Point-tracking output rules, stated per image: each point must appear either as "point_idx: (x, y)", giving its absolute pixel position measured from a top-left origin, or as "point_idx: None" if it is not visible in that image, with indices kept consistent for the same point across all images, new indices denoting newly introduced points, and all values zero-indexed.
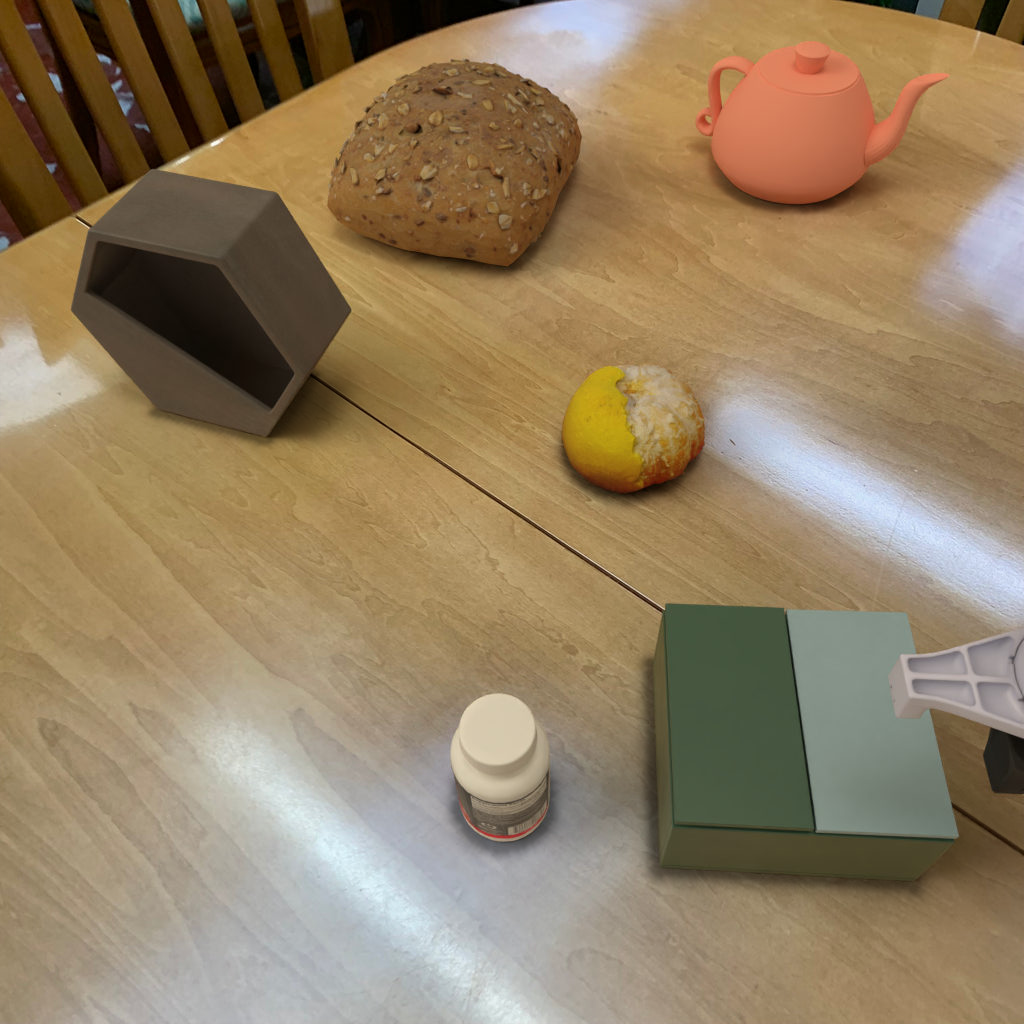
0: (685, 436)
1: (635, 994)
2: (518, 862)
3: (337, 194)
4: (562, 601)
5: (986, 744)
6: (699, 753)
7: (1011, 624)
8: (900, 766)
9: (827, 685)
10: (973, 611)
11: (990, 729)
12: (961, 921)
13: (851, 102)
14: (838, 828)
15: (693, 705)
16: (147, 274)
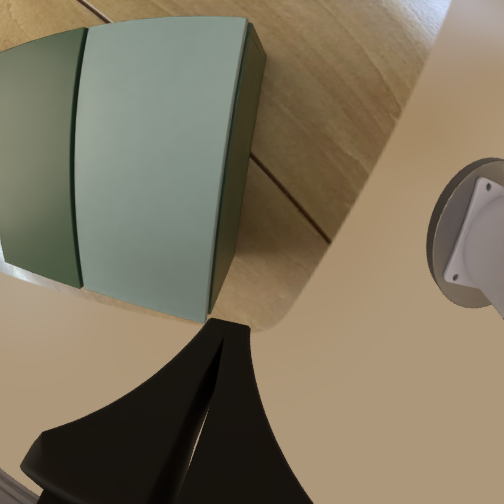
0: None
1: (63, 284)
2: None
3: None
4: (32, 20)
5: (202, 327)
6: (7, 210)
7: (430, 41)
8: (162, 247)
9: (103, 133)
10: (399, 16)
11: (184, 347)
12: (260, 286)
13: None
14: (99, 292)
15: (2, 163)
16: None
